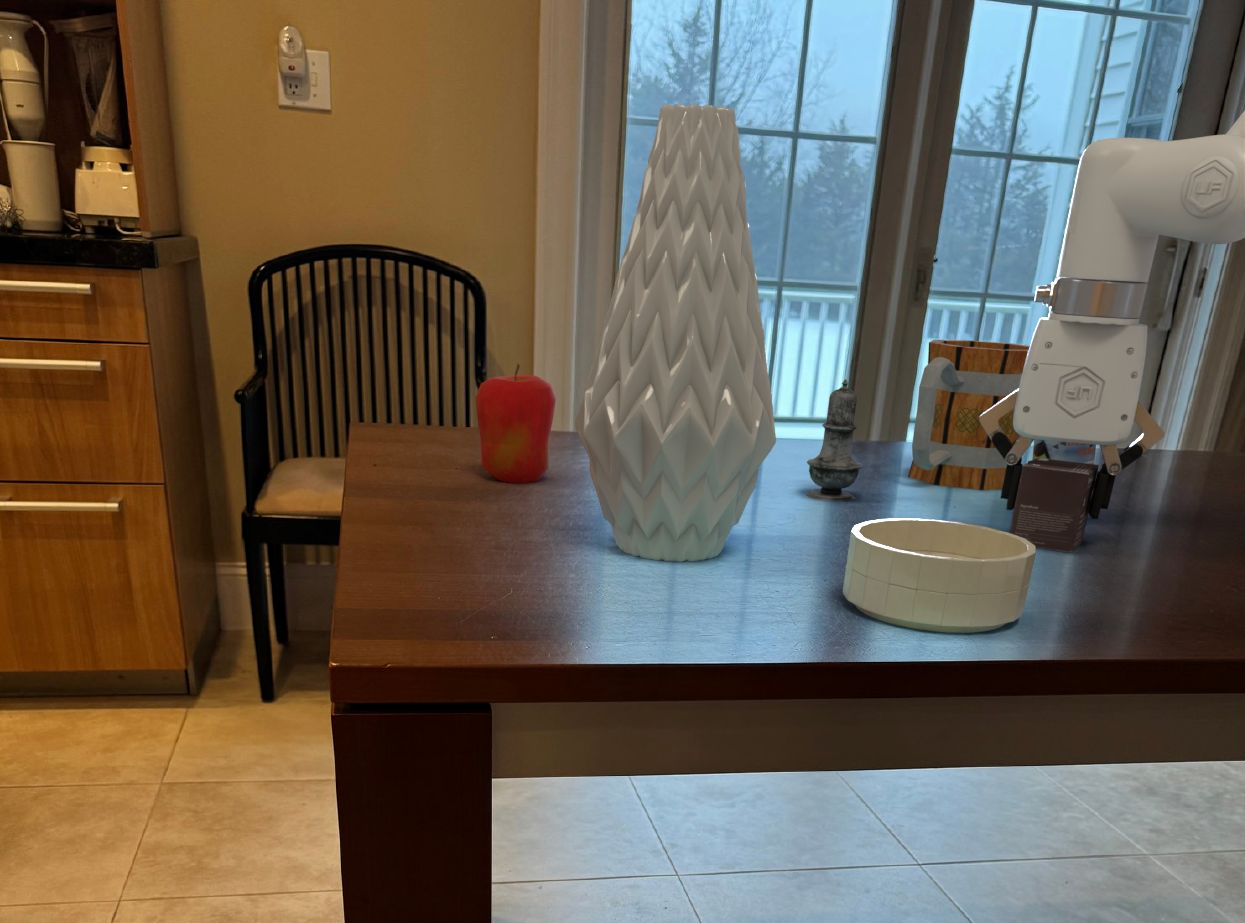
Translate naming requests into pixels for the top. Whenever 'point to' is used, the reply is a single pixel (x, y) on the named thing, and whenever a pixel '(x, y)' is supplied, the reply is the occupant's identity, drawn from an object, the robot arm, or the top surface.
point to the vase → (682, 353)
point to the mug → (964, 412)
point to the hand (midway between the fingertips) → (1051, 510)
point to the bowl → (938, 574)
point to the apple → (515, 426)
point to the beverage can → (1064, 451)
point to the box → (1053, 503)
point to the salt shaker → (836, 449)
